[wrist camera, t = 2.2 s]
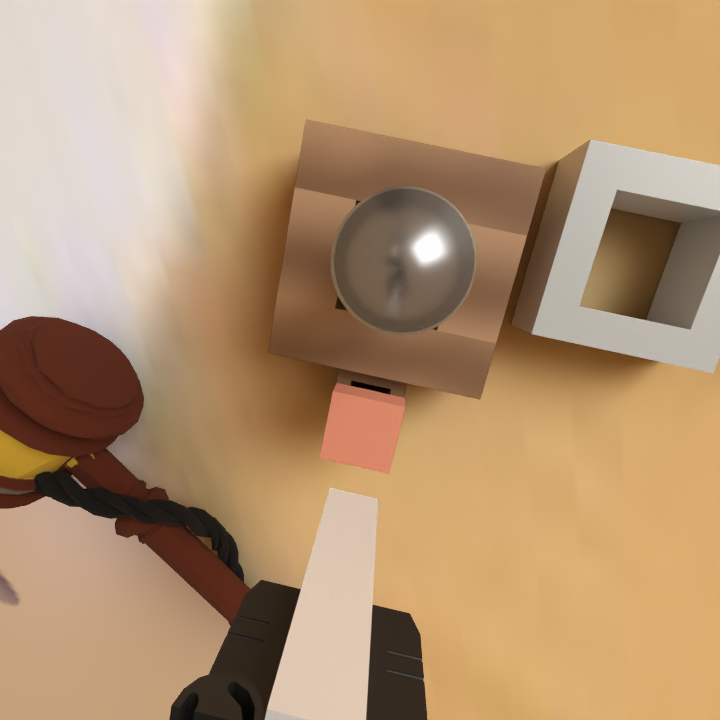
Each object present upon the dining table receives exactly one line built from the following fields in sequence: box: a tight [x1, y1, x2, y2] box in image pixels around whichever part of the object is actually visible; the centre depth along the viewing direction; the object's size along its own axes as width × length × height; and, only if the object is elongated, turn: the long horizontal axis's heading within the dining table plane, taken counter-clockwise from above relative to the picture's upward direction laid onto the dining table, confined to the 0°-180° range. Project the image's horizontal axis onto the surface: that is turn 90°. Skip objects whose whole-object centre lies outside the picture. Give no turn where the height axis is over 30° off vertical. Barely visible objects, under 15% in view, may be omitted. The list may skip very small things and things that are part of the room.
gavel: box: [0, 316, 251, 625], centre depth 27 cm, size 10×34×10 cm
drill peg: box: [331, 186, 477, 336], centre depth 19 cm, size 4×4×15 cm
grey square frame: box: [511, 139, 720, 373], centre depth 24 cm, size 10×10×4 cm
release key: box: [320, 383, 405, 474], centre depth 23 cm, size 4×4×6 cm
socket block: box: [268, 120, 546, 399], centre depth 24 cm, size 16×12×5 cm
